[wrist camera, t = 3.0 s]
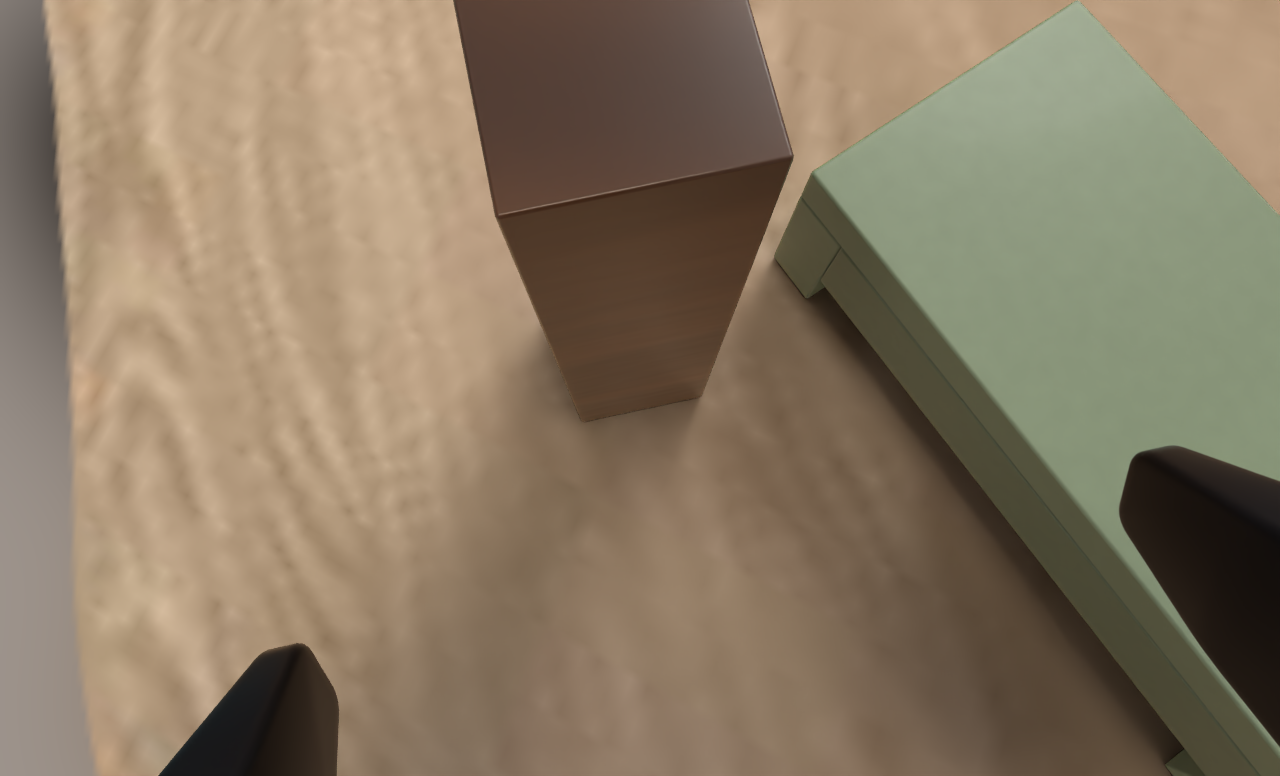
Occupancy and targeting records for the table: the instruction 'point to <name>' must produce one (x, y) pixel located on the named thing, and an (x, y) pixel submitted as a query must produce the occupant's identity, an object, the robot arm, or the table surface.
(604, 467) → the table surface
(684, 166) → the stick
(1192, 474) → the robot arm
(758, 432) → the table surface
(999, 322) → the sage green box
